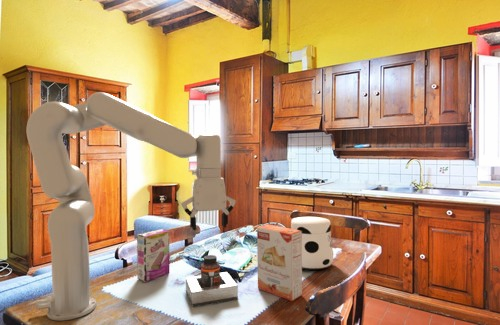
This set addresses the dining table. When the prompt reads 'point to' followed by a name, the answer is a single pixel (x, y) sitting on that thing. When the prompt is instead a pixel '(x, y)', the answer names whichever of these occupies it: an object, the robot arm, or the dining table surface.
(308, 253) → the milk container
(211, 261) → the supplement bottle
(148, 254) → the candy bar box
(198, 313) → the dining table surface
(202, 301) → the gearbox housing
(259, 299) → the dining table surface
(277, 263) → the cracker box
